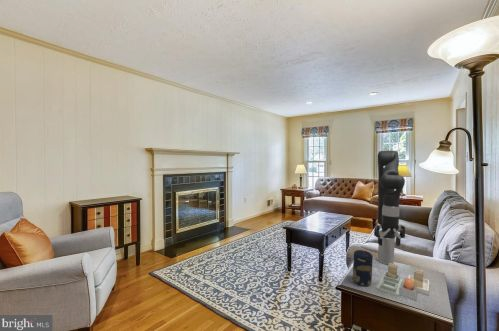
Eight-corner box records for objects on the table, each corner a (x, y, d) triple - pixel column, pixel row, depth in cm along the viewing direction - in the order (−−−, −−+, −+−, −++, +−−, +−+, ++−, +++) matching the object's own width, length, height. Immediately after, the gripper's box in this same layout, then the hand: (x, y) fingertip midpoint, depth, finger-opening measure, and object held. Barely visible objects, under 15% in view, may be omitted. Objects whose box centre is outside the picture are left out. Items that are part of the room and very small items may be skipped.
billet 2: (413, 282, 136) (414, 268, 135) (422, 285, 133) (423, 271, 133) (413, 286, 133) (414, 271, 132) (422, 288, 130) (423, 274, 130)
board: (383, 275, 144) (383, 270, 144) (403, 281, 138) (403, 276, 138) (376, 289, 129) (377, 284, 129) (398, 296, 123) (399, 291, 123)
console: (401, 288, 131) (401, 281, 130) (416, 293, 126) (417, 286, 126) (399, 294, 125) (399, 287, 125) (415, 300, 121) (416, 292, 120)
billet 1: (388, 276, 141) (389, 262, 140) (396, 278, 139) (397, 265, 138) (387, 279, 138) (388, 265, 137) (395, 281, 135) (396, 267, 135)
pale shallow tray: (408, 278, 141) (408, 274, 141) (429, 284, 135) (429, 280, 135) (406, 289, 131) (406, 284, 130) (428, 295, 125) (428, 291, 125)
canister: (372, 281, 137) (374, 250, 136) (369, 289, 130) (371, 256, 129) (354, 276, 143) (355, 246, 142) (350, 283, 135) (352, 251, 134)
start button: (404, 288, 128) (404, 277, 128) (413, 291, 126) (414, 279, 125) (403, 291, 125) (404, 280, 125) (412, 294, 123) (413, 283, 122)
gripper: (400, 212, 127) (398, 242, 128) (372, 211, 128) (371, 242, 129) (409, 216, 120) (407, 248, 121) (379, 215, 120) (378, 248, 121)
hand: (388, 245), depth 125 cm, fingers open, 8 cm apart
